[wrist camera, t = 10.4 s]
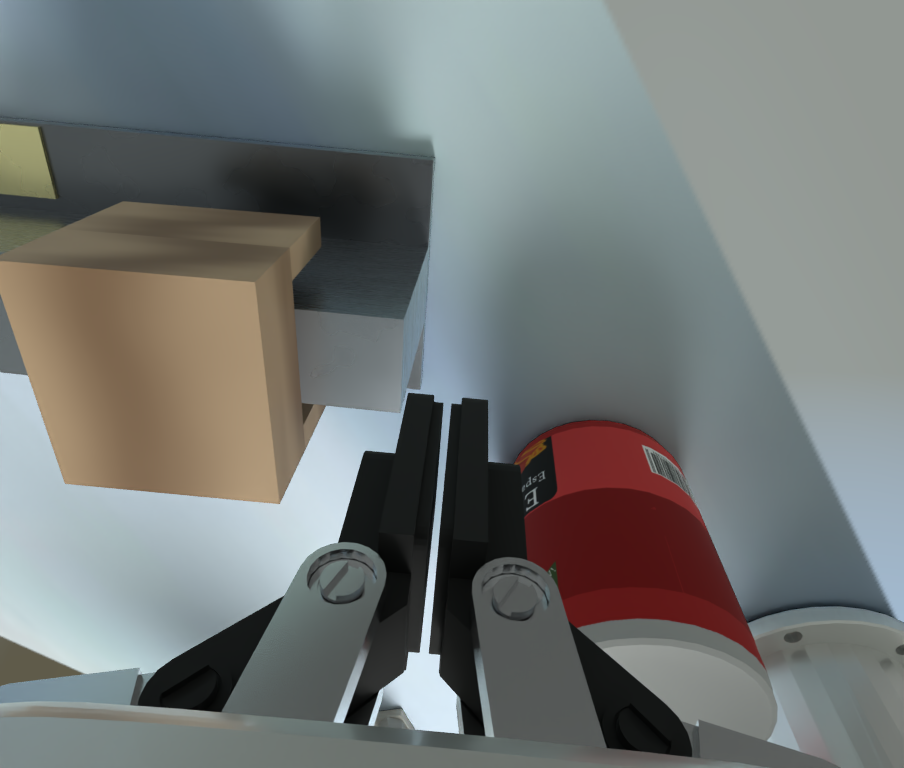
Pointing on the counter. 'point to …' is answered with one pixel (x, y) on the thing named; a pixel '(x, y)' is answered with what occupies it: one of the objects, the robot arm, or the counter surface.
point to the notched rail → (257, 190)
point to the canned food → (643, 571)
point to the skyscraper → (393, 719)
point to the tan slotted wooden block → (167, 347)
